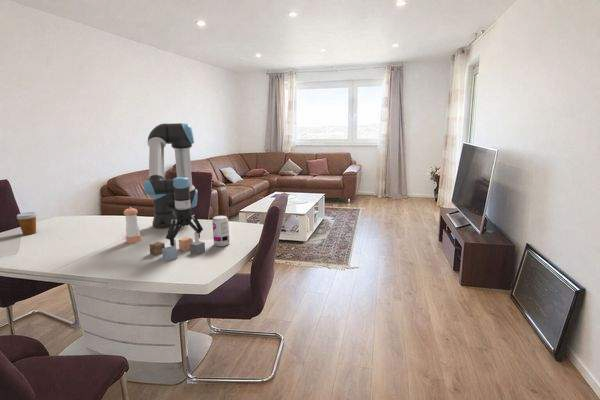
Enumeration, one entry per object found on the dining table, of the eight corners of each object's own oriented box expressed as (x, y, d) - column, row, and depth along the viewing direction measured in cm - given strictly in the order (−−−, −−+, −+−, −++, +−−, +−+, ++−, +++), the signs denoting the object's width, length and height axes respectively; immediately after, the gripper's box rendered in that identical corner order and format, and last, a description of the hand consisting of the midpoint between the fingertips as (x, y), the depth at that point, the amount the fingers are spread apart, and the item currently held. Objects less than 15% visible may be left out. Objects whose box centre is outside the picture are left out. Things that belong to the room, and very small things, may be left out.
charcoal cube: (190, 253, 175) (189, 243, 174) (198, 250, 179) (197, 240, 178) (197, 255, 173) (196, 245, 172) (205, 252, 177) (204, 242, 176)
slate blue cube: (162, 258, 169) (161, 248, 168) (172, 255, 172) (172, 246, 171) (167, 261, 165) (166, 251, 164) (177, 258, 168) (176, 248, 167)
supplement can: (214, 247, 182) (212, 219, 179) (213, 242, 190) (212, 215, 187) (230, 246, 185) (228, 218, 182) (228, 241, 192) (227, 214, 189)
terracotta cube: (179, 248, 182) (178, 239, 181) (187, 246, 186) (187, 237, 184) (184, 250, 179) (184, 241, 178) (193, 248, 182) (192, 238, 181)
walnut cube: (150, 254, 174) (149, 244, 173) (158, 251, 179) (157, 241, 178) (157, 255, 172) (156, 246, 171) (165, 252, 176) (164, 243, 175)
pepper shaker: (135, 243, 190) (131, 209, 186) (123, 242, 191) (119, 208, 187) (143, 239, 197) (140, 206, 193) (132, 238, 198) (128, 205, 194)
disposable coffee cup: (43, 231, 213) (40, 212, 211) (30, 236, 204) (26, 216, 202) (29, 231, 214) (25, 211, 212) (15, 235, 205) (11, 215, 203)
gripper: (164, 213, 166) (168, 256, 170) (208, 204, 185) (210, 243, 189) (156, 211, 170) (159, 253, 175) (199, 202, 189) (201, 240, 194)
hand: (186, 248), depth 182 cm, fingers open, 13 cm apart
